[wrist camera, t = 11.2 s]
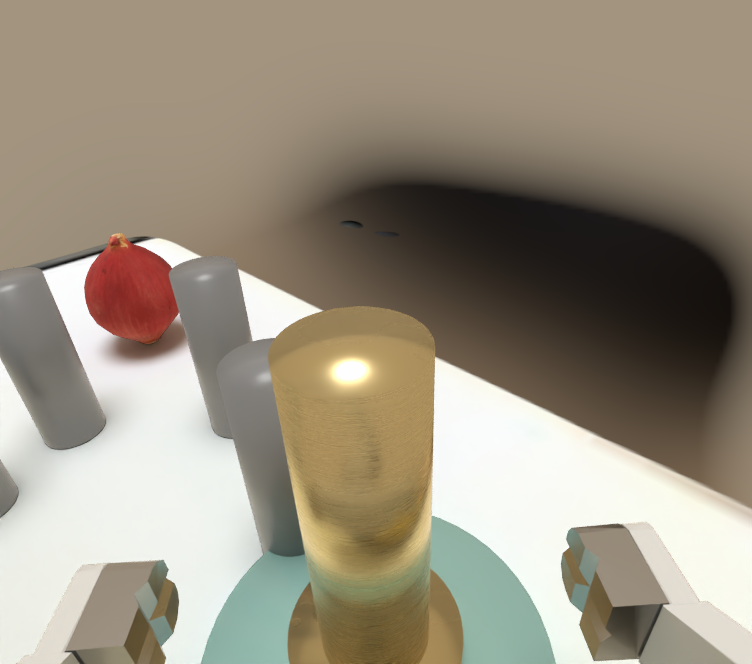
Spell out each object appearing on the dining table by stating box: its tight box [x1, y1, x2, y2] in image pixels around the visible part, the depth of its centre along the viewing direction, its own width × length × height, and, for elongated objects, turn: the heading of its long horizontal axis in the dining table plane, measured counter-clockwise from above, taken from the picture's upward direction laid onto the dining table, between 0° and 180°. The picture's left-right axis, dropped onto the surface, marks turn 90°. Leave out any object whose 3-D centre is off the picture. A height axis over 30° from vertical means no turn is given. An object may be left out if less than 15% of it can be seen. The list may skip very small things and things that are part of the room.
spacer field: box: [0, 256, 305, 557], centre depth 21 cm, size 18×11×9 cm, turn 92°
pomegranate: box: [84, 233, 179, 344], centre depth 33 cm, size 6×6×8 cm
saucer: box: [201, 516, 556, 664], centre depth 16 cm, size 11×11×1 cm
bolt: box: [268, 306, 463, 664], centre depth 12 cm, size 5×5×12 cm
